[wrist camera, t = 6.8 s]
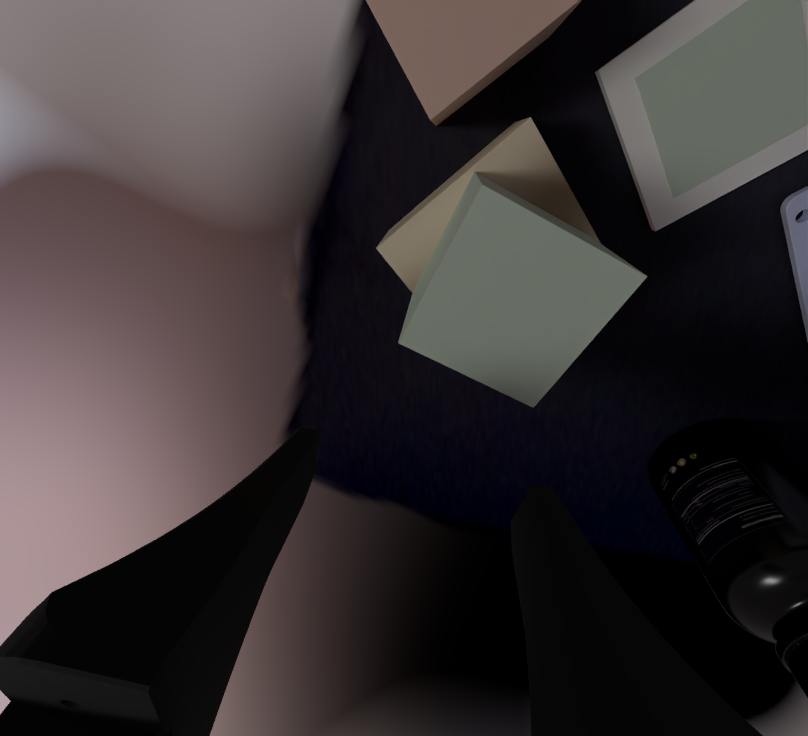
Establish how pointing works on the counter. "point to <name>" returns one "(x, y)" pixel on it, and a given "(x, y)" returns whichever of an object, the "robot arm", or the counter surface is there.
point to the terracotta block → (463, 43)
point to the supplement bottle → (743, 527)
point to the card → (710, 101)
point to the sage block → (513, 293)
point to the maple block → (502, 164)
